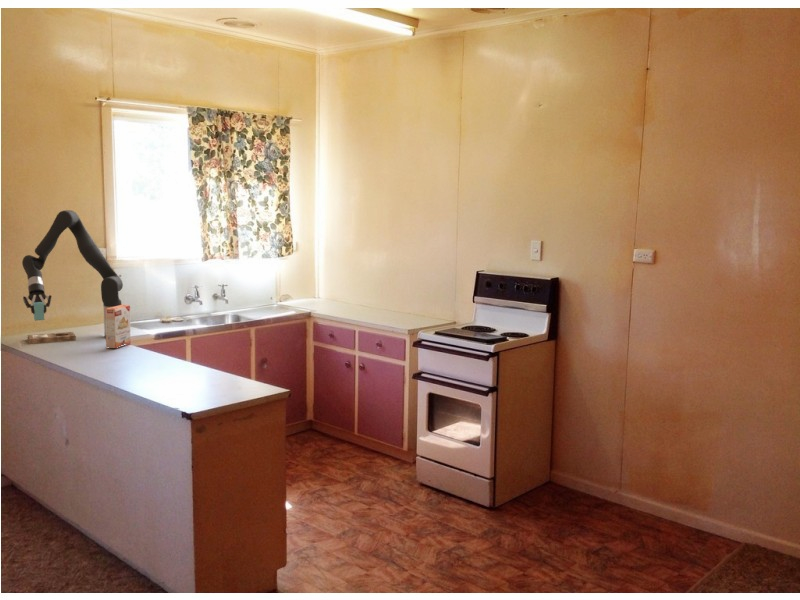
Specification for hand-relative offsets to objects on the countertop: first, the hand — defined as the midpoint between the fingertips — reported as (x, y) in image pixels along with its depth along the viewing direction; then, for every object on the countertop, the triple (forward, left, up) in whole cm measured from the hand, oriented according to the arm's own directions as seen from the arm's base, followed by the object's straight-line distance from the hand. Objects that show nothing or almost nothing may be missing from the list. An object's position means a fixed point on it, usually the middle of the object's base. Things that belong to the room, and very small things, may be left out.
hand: (39, 312), depth 379 cm
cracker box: (-43, +6, -16) cm, 46 cm away
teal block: (+1, -2, -4) cm, 4 cm away
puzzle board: (-4, -4, -16) cm, 17 cm away
